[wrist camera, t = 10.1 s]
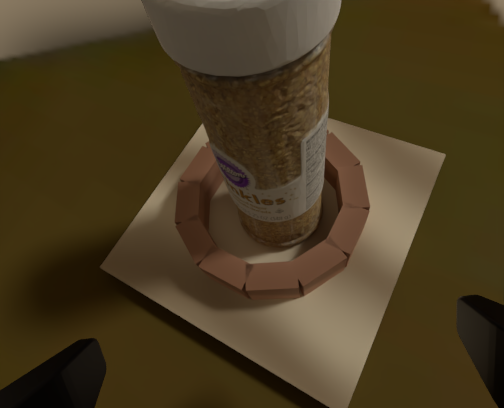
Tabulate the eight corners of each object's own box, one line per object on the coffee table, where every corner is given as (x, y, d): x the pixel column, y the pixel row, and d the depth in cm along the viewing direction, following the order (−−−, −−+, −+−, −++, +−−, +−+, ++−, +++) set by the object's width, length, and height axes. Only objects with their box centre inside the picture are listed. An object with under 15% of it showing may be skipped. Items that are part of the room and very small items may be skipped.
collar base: (342, 414, 15) (348, 421, 12) (108, 272, 20) (77, 255, 17) (439, 164, 20) (459, 131, 17) (231, 97, 24) (221, 63, 22)
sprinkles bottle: (225, 231, 19) (78, -23, 7) (261, 164, 20) (191, -135, 9) (305, 264, 17) (290, 13, 5) (337, 189, 19) (379, -131, 7)
